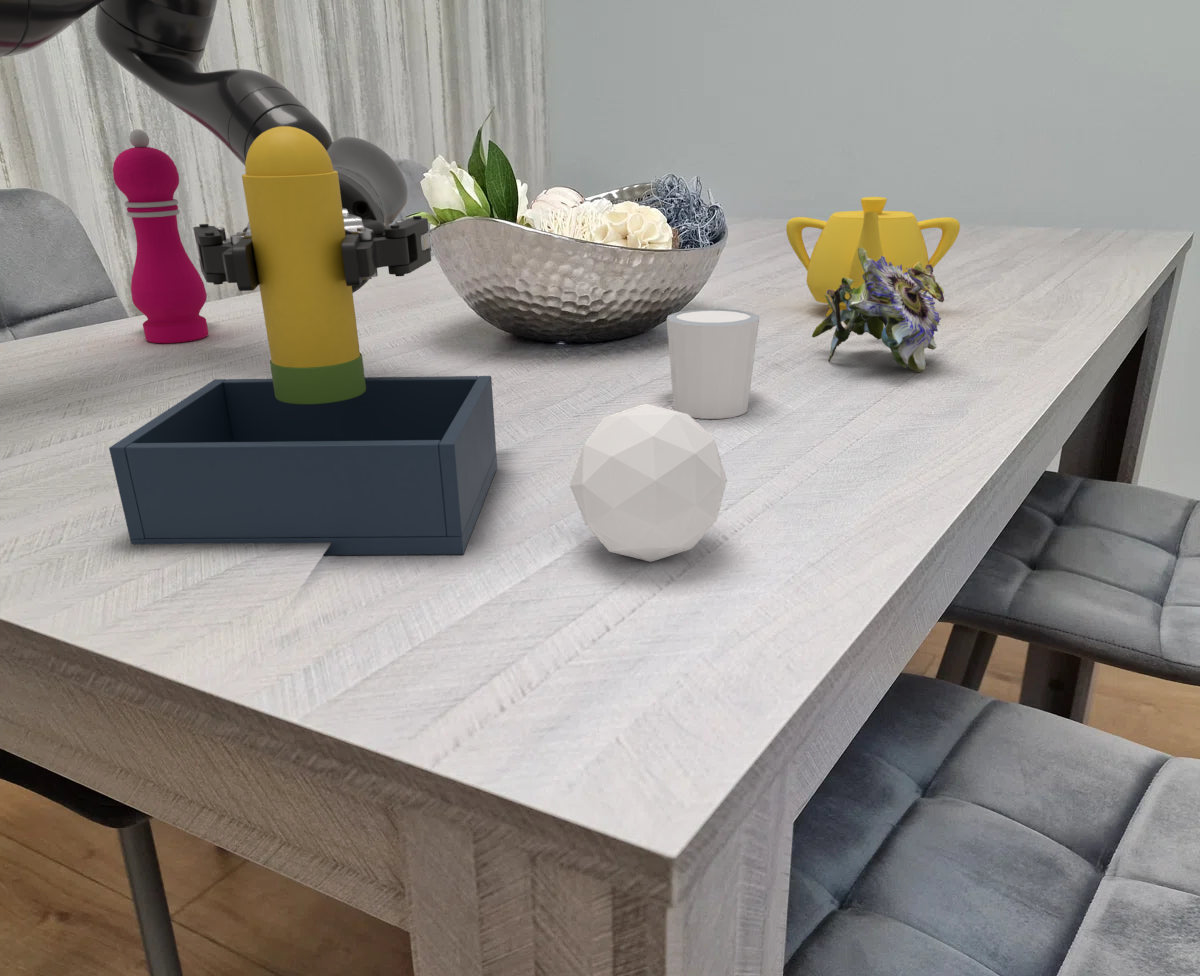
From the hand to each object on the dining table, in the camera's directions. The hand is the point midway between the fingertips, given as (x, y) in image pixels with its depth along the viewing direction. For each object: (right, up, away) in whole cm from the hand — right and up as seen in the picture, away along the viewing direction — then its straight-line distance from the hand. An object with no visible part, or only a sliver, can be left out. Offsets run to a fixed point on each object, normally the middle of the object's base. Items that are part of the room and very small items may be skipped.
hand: (296, 267), depth 53 cm
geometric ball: (+18, -15, +1) cm, 23 cm away
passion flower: (+39, +3, +38) cm, 55 cm away
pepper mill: (-29, +10, +56) cm, 64 cm away
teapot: (+44, +14, +60) cm, 76 cm away
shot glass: (+24, -3, +26) cm, 36 cm away
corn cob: (0, -5, +5) cm, 8 cm away
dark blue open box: (0, -12, +8) cm, 14 cm away
